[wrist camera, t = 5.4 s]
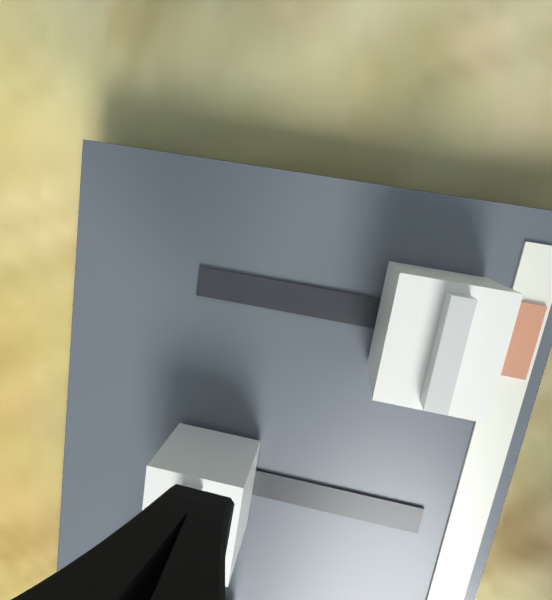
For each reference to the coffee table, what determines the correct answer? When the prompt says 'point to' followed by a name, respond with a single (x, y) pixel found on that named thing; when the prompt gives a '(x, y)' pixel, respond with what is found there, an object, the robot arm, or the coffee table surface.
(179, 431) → the middle tab
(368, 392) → the switch panel
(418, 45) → the coffee table surface
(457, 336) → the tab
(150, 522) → the robot arm
